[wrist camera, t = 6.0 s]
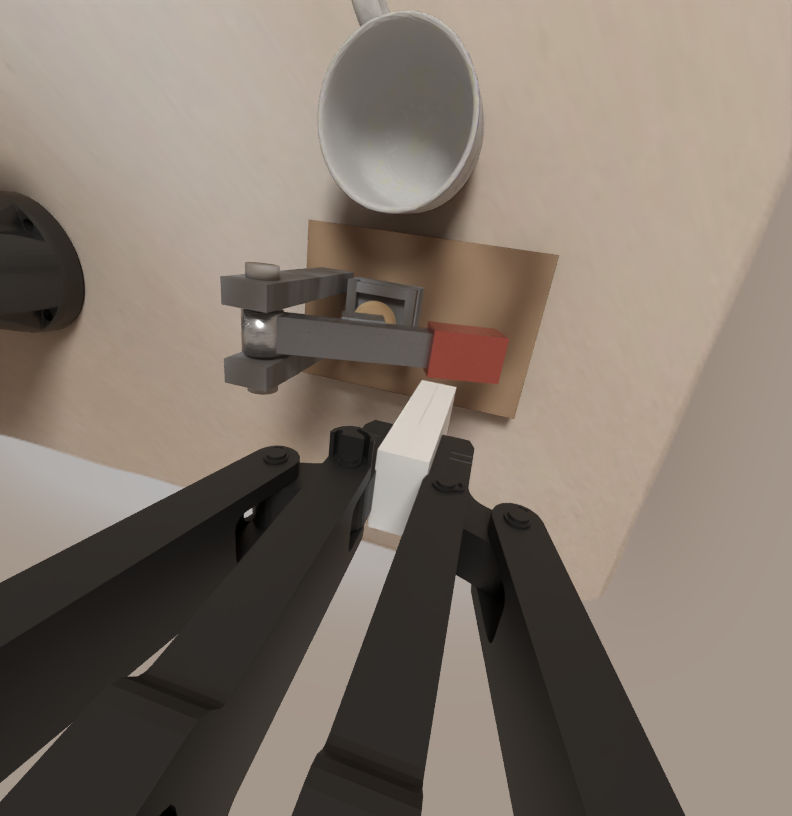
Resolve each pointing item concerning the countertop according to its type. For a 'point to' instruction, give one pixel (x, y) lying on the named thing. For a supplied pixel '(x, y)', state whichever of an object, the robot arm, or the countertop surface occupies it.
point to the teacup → (400, 112)
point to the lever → (378, 343)
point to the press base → (445, 302)
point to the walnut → (377, 310)
